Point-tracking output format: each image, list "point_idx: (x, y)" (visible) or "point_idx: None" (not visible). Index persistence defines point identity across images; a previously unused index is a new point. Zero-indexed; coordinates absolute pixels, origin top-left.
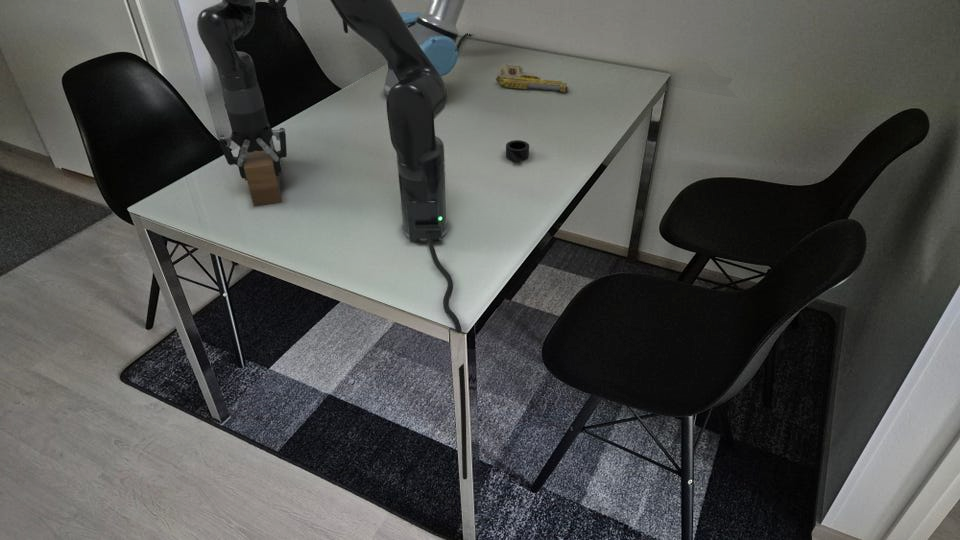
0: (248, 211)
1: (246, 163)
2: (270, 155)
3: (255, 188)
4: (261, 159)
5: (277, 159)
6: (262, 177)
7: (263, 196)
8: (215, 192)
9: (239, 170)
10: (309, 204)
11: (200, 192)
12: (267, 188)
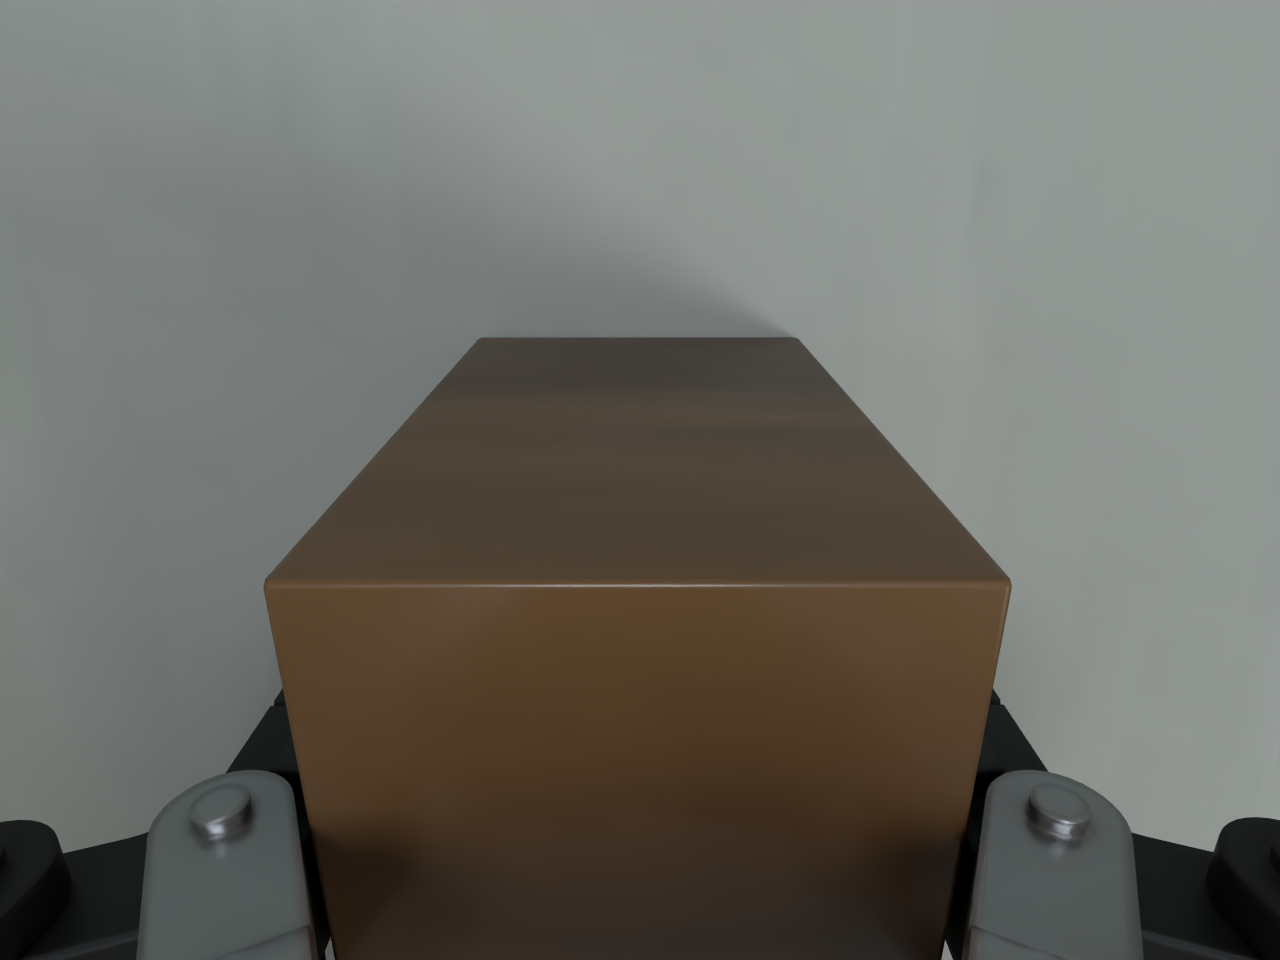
0: (869, 242)
1: (913, 793)
2: (286, 910)
3: (762, 400)
4: (562, 871)
5: (201, 802)
6: (614, 462)
7: (668, 364)
8: (1134, 725)
9: (1018, 732)
10: (133, 185)
11: (1266, 760)
12: (586, 391)
